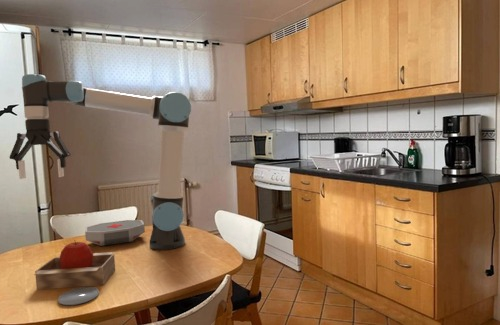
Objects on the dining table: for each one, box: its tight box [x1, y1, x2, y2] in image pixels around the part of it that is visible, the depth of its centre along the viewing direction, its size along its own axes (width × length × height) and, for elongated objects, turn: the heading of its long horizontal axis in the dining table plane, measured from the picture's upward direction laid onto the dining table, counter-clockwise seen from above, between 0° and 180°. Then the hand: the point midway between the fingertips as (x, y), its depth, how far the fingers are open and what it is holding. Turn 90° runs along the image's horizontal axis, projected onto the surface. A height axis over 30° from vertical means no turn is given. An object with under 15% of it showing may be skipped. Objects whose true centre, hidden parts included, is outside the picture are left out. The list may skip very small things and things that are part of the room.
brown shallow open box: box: [33, 251, 116, 290], centre depth 124 cm, size 21×18×6 cm
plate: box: [57, 286, 99, 306], centre depth 109 cm, size 11×11×1 cm
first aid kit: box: [84, 219, 146, 247], centre depth 167 cm, size 18×8×25 cm
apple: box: [59, 241, 94, 269], centre depth 123 cm, size 10×10×14 cm
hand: (42, 177), depth 132 cm, fingers open, 13 cm apart
